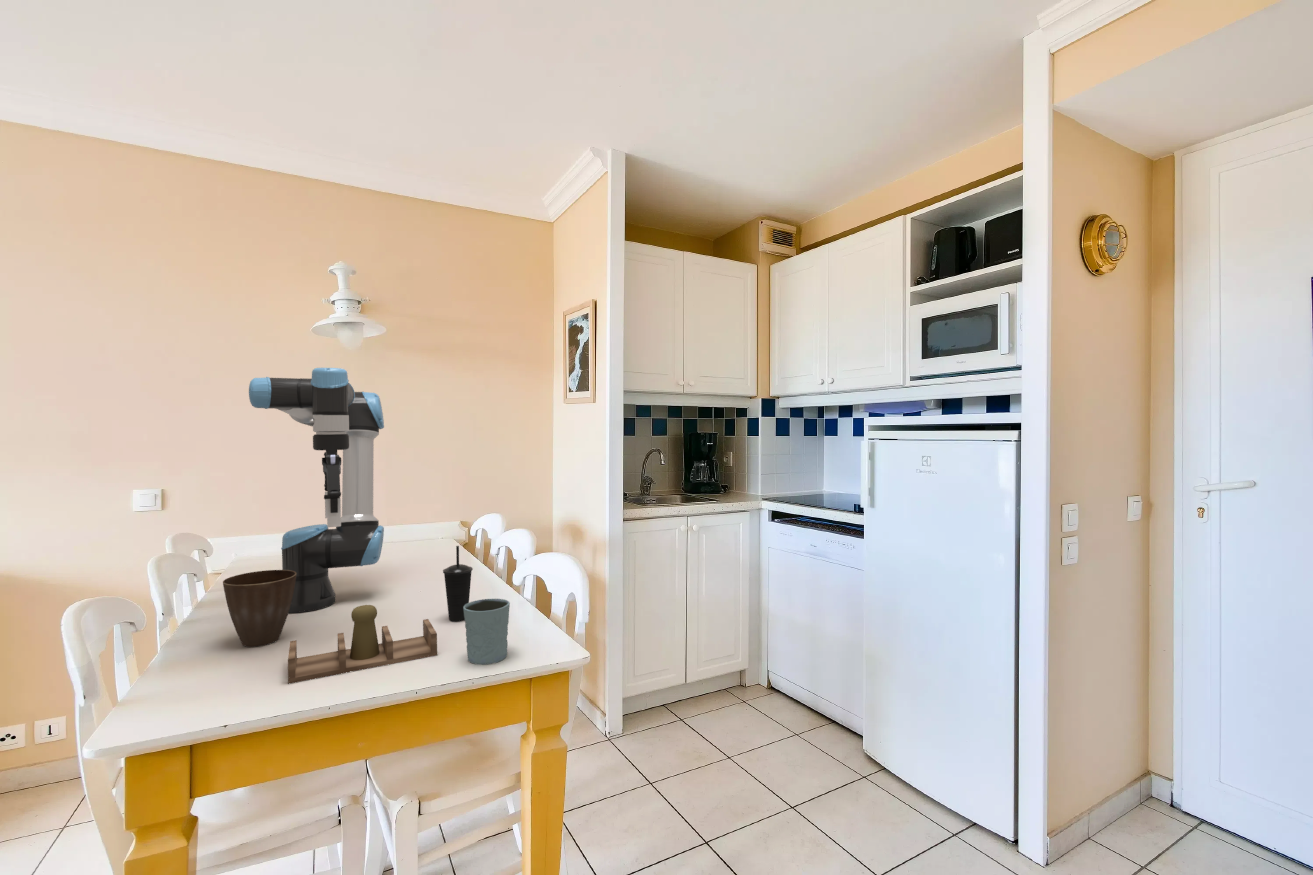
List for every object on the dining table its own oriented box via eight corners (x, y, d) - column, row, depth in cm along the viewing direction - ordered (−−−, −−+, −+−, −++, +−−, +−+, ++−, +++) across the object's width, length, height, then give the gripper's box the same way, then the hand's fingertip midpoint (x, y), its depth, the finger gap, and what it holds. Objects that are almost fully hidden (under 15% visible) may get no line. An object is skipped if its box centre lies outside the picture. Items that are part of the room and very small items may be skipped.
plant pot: (303, 628, 152) (302, 567, 152) (289, 647, 138) (288, 580, 138) (236, 635, 147) (234, 572, 147) (214, 656, 133) (212, 587, 133)
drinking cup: (456, 625, 153) (455, 549, 153) (437, 620, 157) (436, 546, 157) (479, 617, 160) (478, 544, 159) (460, 612, 164) (459, 542, 164)
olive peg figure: (346, 654, 131) (346, 605, 131) (375, 647, 135) (374, 600, 135) (353, 662, 127) (352, 612, 126) (383, 655, 130) (382, 606, 130)
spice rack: (290, 663, 129) (290, 641, 129) (428, 639, 143) (428, 618, 143) (288, 683, 118) (287, 659, 118) (437, 655, 133) (436, 633, 133)
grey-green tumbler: (471, 669, 125) (470, 613, 125) (458, 654, 133) (457, 602, 133) (516, 658, 130) (516, 605, 130) (502, 645, 139) (501, 595, 139)
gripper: (311, 432, 147) (313, 515, 148) (313, 435, 126) (315, 532, 126) (345, 431, 151) (347, 513, 152) (352, 434, 129) (354, 529, 130)
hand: (332, 522), depth 139 cm, fingers open, 13 cm apart
